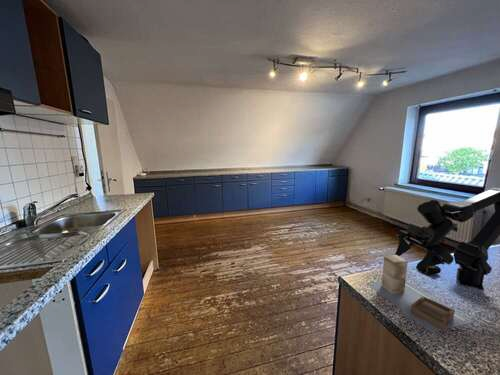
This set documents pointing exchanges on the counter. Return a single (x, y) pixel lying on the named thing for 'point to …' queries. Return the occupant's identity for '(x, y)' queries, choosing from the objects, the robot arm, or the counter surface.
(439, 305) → the walnut block
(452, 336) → the counter surface
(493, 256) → the counter surface
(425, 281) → the counter surface
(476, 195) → the robot arm
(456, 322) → the board
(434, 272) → the tape measure
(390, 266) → the beech column
